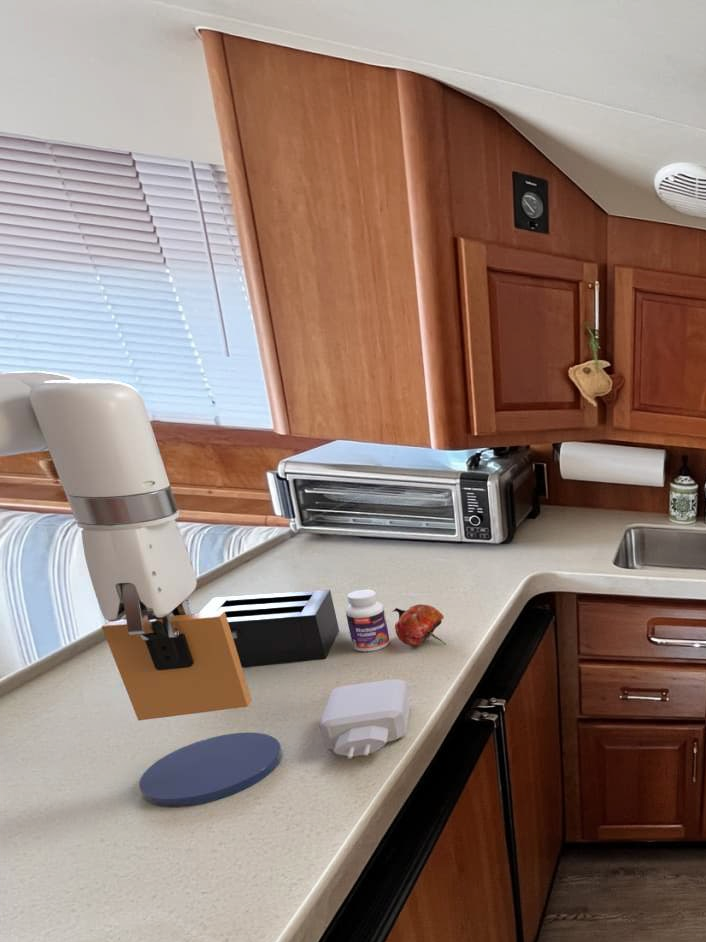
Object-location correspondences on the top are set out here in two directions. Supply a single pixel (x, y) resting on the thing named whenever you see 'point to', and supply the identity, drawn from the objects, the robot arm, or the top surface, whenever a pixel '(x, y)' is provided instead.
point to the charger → (365, 716)
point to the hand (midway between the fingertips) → (179, 661)
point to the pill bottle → (366, 621)
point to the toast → (181, 669)
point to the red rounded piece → (417, 624)
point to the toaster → (279, 626)
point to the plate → (210, 769)
